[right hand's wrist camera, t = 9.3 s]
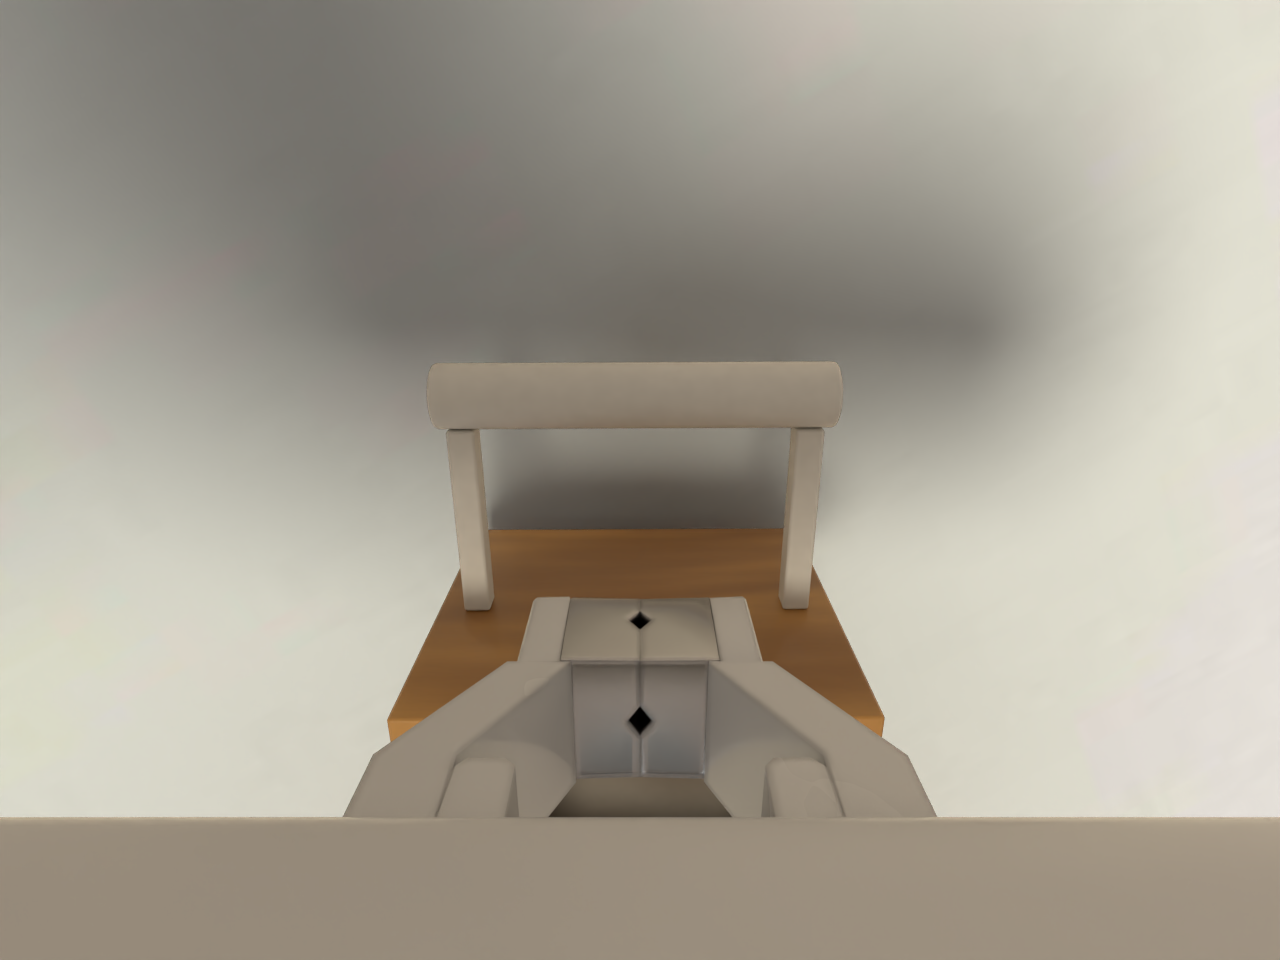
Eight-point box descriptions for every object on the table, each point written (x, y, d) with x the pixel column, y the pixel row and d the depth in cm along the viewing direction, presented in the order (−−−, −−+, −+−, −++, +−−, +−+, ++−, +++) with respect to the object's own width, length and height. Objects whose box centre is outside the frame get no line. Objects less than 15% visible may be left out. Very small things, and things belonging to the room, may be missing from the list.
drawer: (459, 329, 19) (335, 419, 11) (811, 327, 19) (931, 416, 11) (521, 981, 28) (476, 1276, 20) (758, 980, 28) (803, 1274, 20)
